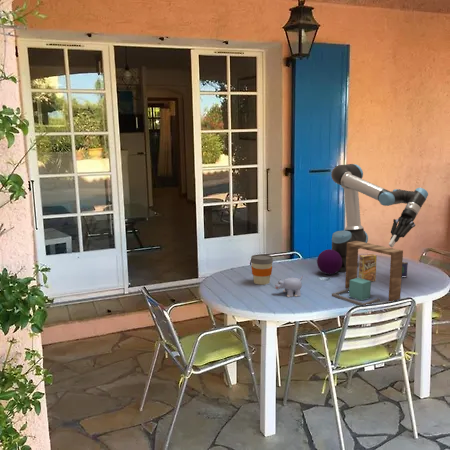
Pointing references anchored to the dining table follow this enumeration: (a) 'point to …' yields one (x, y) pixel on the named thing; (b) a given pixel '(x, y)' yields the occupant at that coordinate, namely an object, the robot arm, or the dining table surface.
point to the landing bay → (351, 299)
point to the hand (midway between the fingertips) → (390, 245)
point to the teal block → (359, 288)
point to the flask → (404, 268)
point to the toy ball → (329, 261)
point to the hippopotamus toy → (290, 286)
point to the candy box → (367, 267)
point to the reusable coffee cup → (261, 268)
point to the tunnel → (395, 253)
